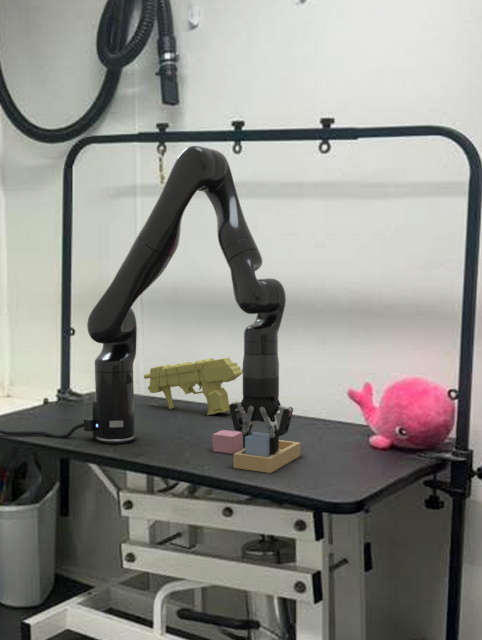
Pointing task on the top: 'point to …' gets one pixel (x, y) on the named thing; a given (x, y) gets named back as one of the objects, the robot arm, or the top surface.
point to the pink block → (227, 441)
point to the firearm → (196, 380)
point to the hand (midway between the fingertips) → (260, 451)
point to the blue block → (258, 444)
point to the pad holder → (267, 458)
